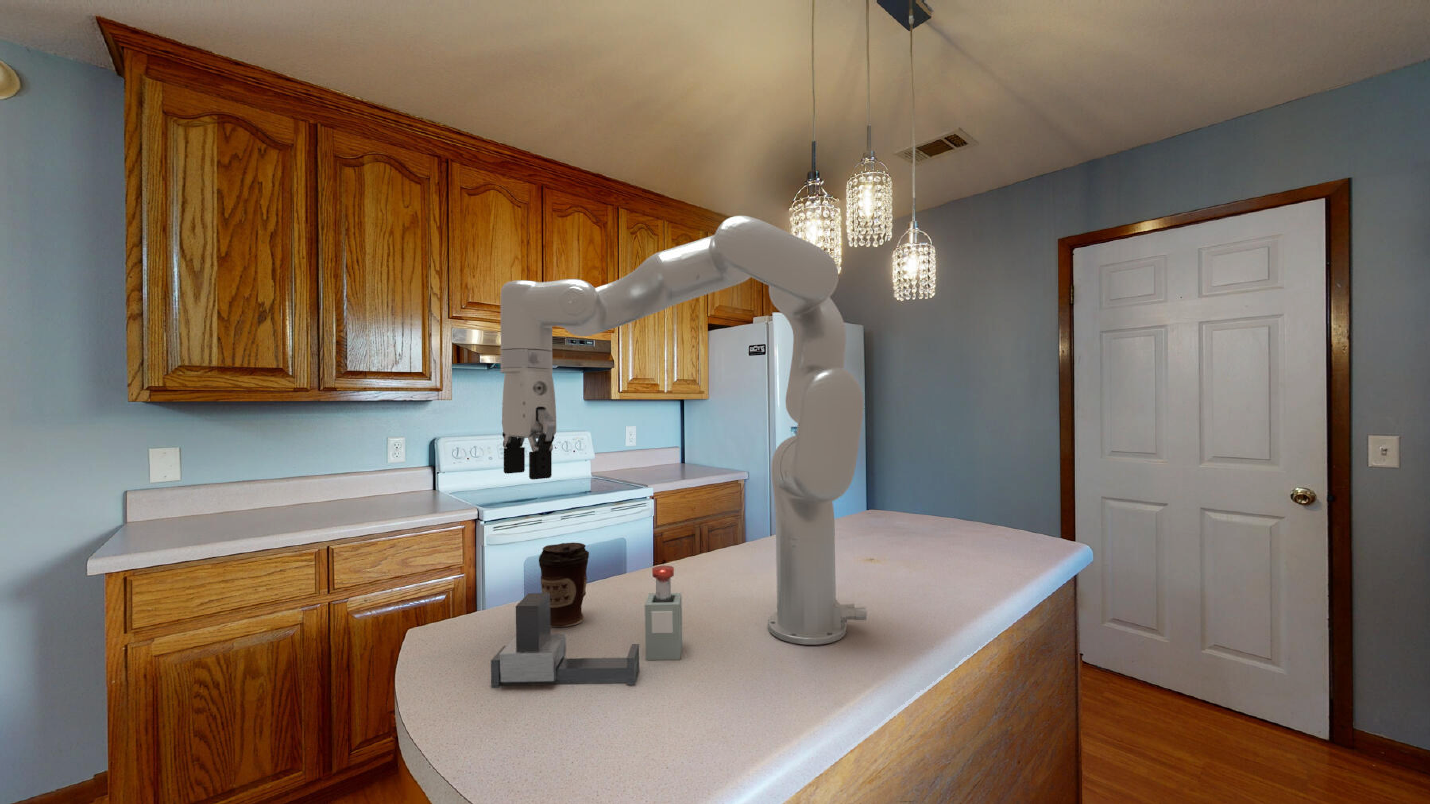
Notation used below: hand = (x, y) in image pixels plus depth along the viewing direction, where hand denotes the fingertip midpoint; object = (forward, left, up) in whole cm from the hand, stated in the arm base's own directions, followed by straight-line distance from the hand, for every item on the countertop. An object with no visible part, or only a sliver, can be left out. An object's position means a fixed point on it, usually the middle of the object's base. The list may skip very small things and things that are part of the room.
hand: (526, 475), depth 84 cm
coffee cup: (-2, -11, -27) cm, 29 cm away
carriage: (-4, +9, -27) cm, 28 cm away
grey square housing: (-21, +1, -27) cm, 34 cm away
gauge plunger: (-21, +1, -21) cm, 30 cm away
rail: (-8, +9, -27) cm, 29 cm away
